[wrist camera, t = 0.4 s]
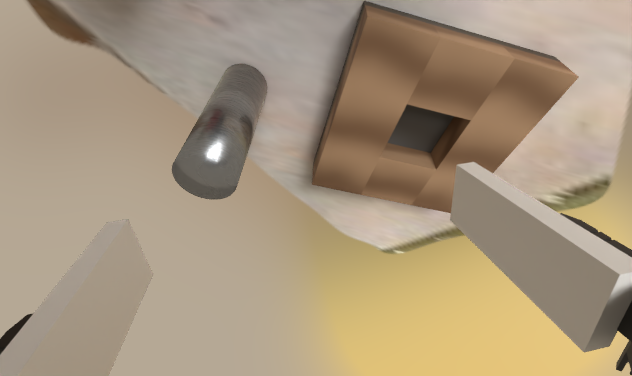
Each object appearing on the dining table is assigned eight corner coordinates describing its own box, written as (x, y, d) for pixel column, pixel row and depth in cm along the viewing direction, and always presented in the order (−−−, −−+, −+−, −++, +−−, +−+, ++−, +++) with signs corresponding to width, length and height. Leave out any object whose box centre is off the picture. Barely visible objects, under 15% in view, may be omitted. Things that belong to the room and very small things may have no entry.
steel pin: (223, 58, 26) (168, 146, 18) (270, 70, 27) (239, 161, 18) (222, 99, 29) (174, 192, 21) (264, 109, 30) (235, 204, 21)
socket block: (364, 0, 23) (367, 16, 20) (554, 56, 25) (578, 77, 22) (313, 161, 34) (311, 184, 31) (448, 190, 36) (456, 214, 34)
